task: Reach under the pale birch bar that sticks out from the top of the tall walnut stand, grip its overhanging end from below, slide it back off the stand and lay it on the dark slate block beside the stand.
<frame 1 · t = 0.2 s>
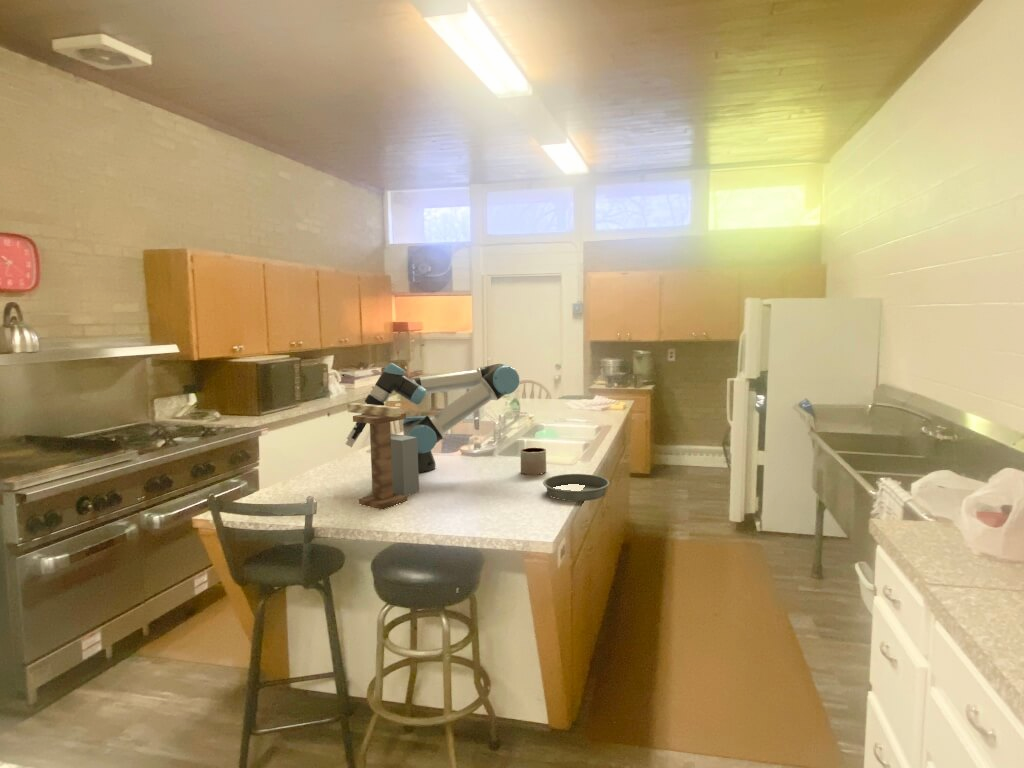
hand: (348, 442, 266), 16 cm above the countertop, tool tilted 35°, fingers open, 13 cm apart
walnut stand: (383, 502, 236), on the countertop
birch bar: (373, 413, 235), point 32 cm above the countertop, touching walnut stand
cake pan: (576, 494, 245), on the countertop
planter: (533, 472, 278), on the countertop
slate block: (395, 490, 252), on the countertop
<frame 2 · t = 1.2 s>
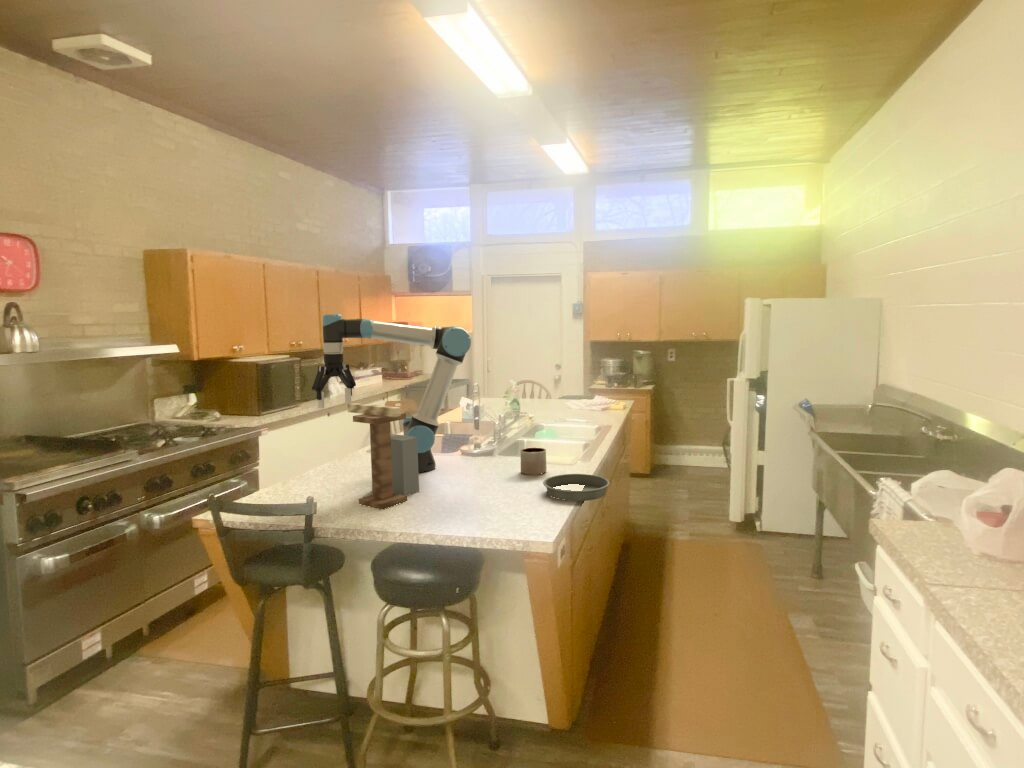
hand: (335, 406, 265), 31 cm above the countertop, tool pointing down, fingers open, 13 cm apart
nothing on the countertop moved.
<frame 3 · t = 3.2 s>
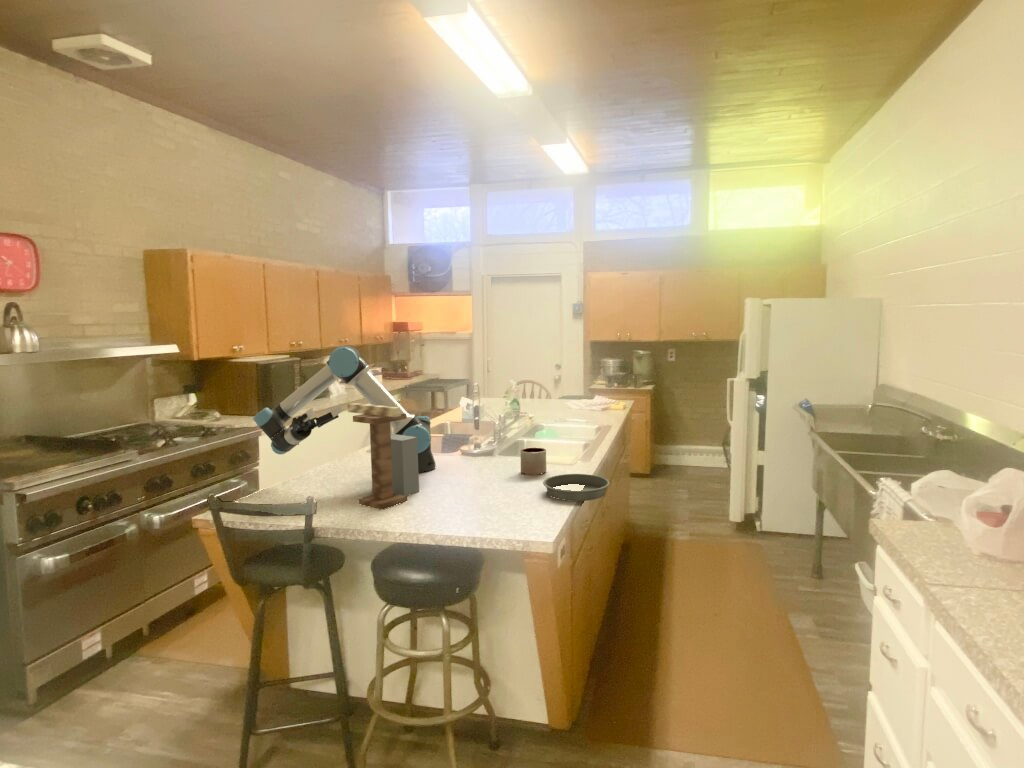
hand: (327, 409, 250), 32 cm above the countertop, tool pointing upward, fingers open, 13 cm apart
nothing on the countertop moved.
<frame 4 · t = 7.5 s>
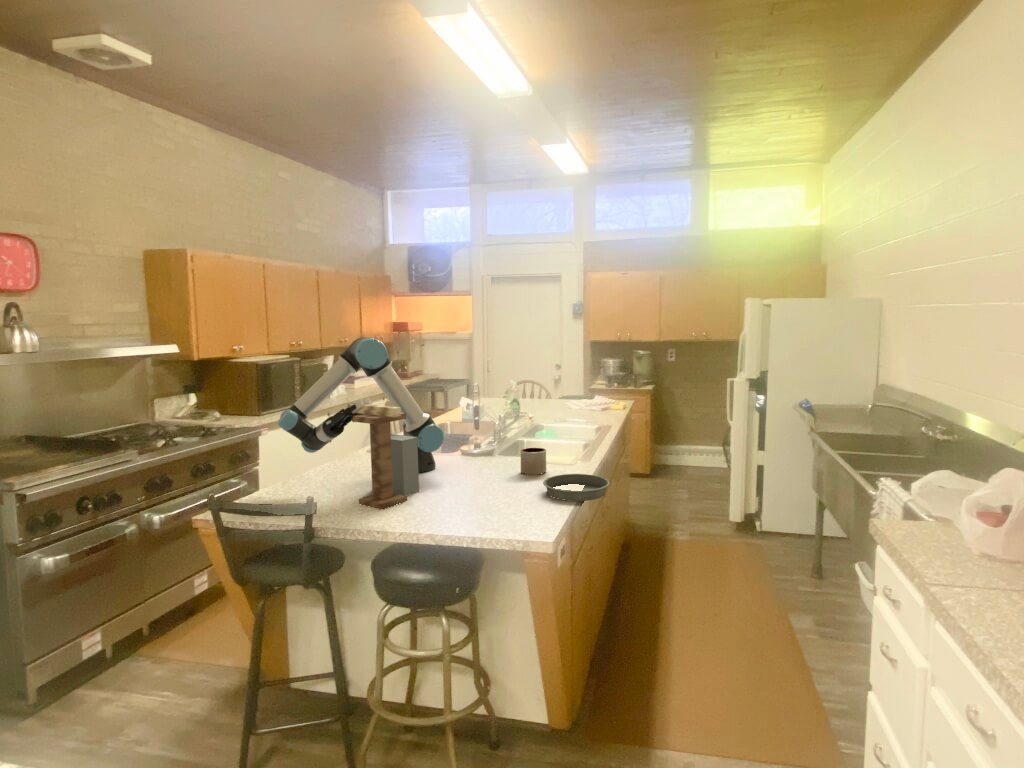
hand: (365, 401, 237), 36 cm above the countertop, tool pointing upward, fingers closed on birch bar, 3 cm apart
birch bar: (373, 413, 235), point 32 cm above the countertop, touching gripper, walnut stand
everything else where it was.
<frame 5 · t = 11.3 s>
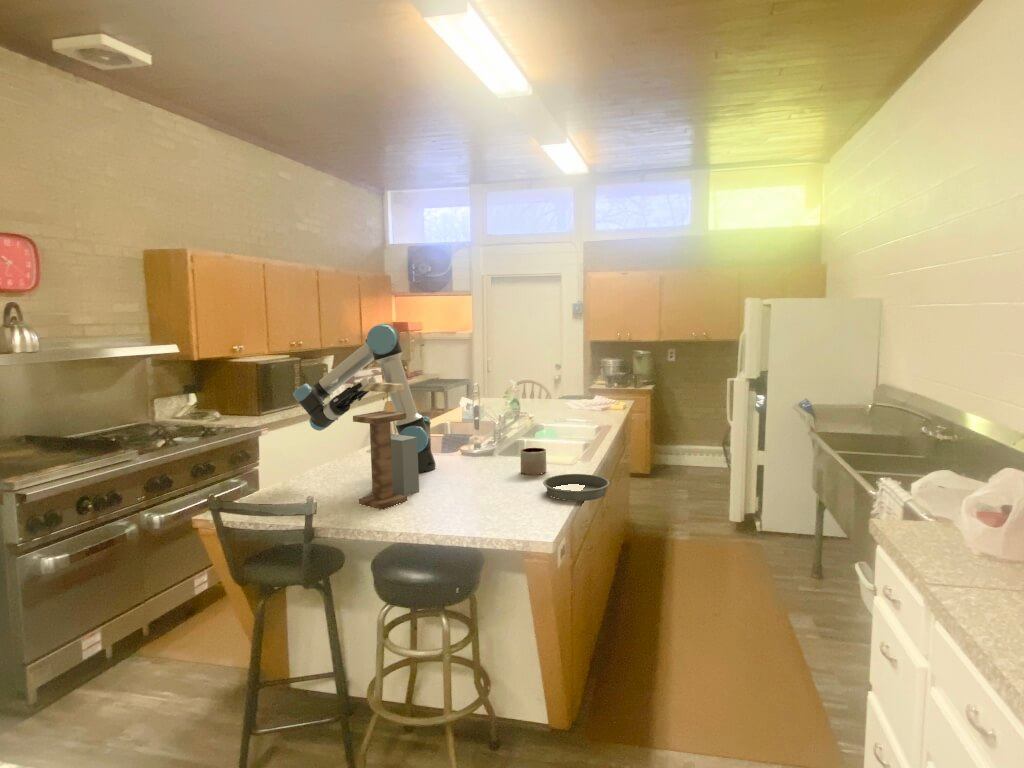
hand: (370, 379, 252), 42 cm above the countertop, tool pointing upward, fingers closed on birch bar, 3 cm apart
birch bar: (378, 391, 250), point 38 cm above the countertop, touching gripper
everything else where it was.
when the fingers open (27 cm above the countertop, at t = 14.9 s): birch bar drops 1 cm, resting on slate block.
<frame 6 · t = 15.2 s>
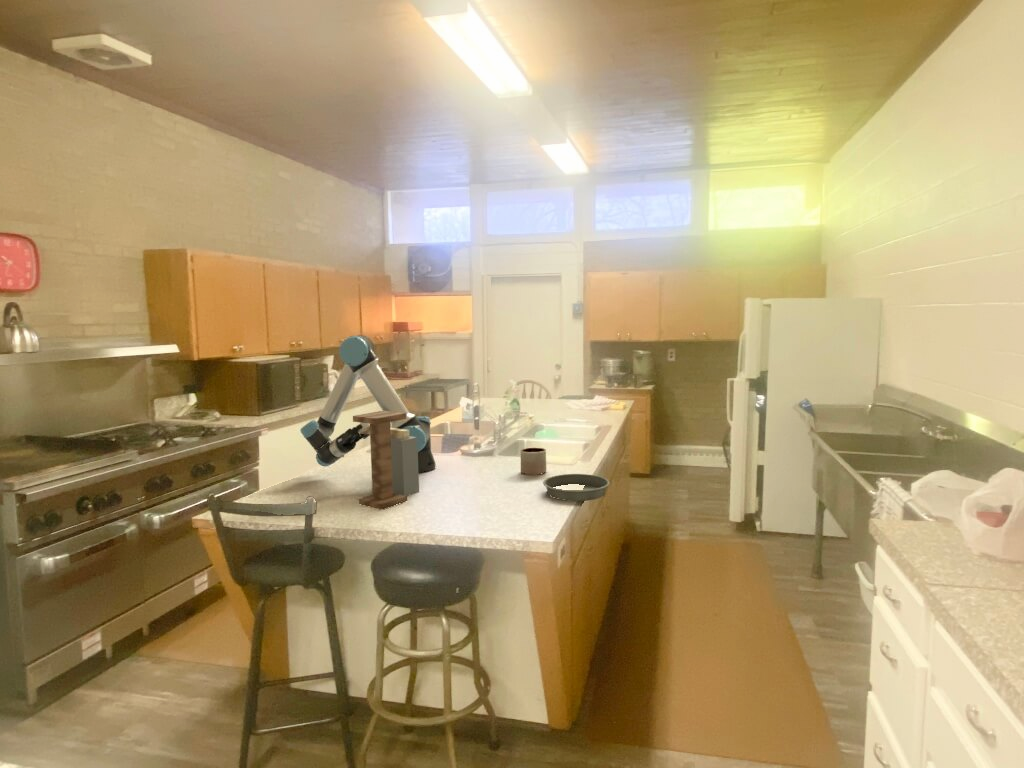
hand: (375, 420, 255), 26 cm above the countertop, tool pointing upward, fingers open, 8 cm apart
birch bar: (384, 435, 253), point 21 cm above the countertop, touching slate block
everything else where it was.
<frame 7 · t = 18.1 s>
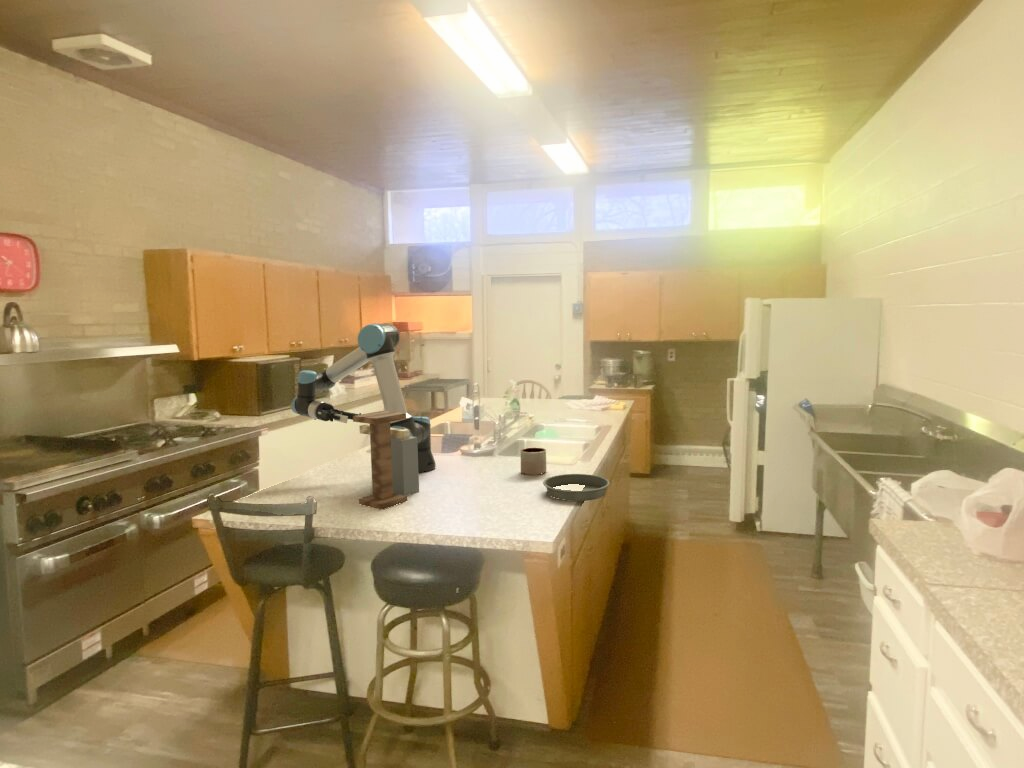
hand: (358, 420, 269), 24 cm above the countertop, tool horizontal, fingers open, 13 cm apart
nothing on the countertop moved.
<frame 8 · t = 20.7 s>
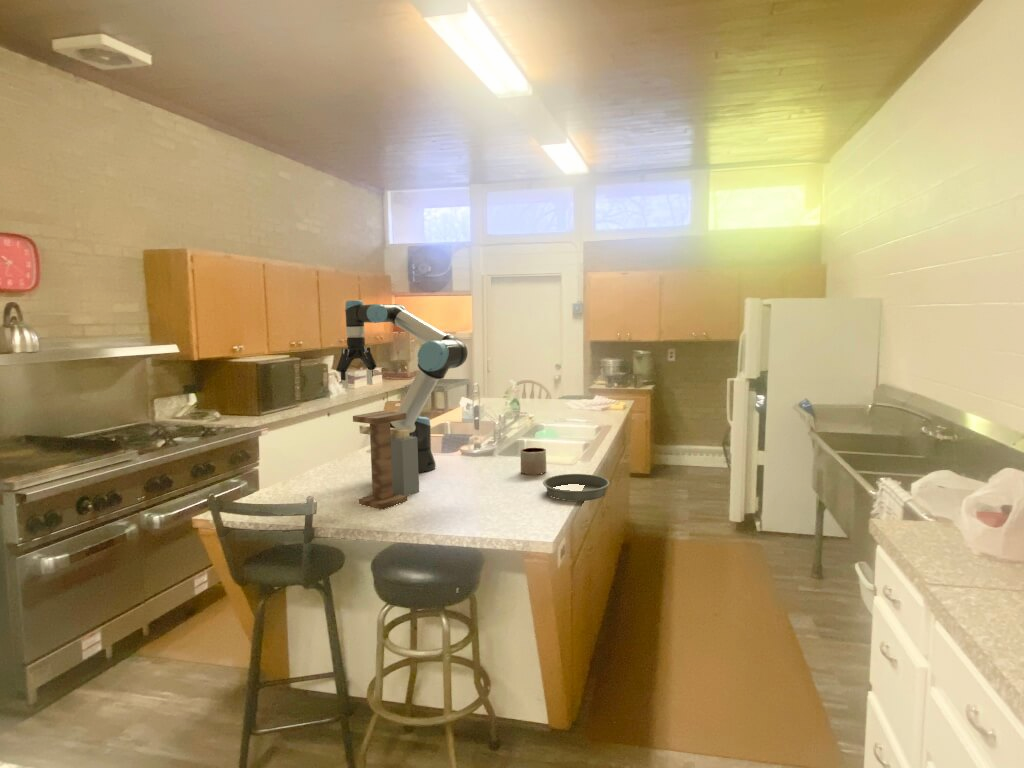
hand: (357, 386, 284), 37 cm above the countertop, tool pointing down, fingers open, 13 cm apart
nothing on the countertop moved.
at the end: birch bar inside the target area on the slate block (0.2 cm from its centre), point 21.0 cm above the slate block's base; birch bar touching slate block; the gripper is holding nothing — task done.
